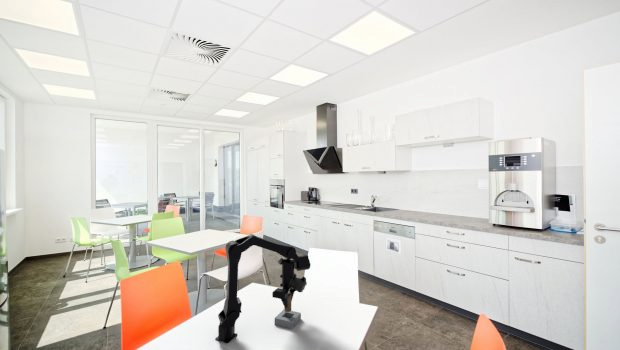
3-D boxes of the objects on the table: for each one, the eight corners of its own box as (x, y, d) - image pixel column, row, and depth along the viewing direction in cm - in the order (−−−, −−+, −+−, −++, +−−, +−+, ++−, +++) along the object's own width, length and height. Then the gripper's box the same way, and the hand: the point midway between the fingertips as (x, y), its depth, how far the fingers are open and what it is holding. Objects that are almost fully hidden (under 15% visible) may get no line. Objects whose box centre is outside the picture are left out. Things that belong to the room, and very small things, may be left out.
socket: (292, 329, 121) (292, 322, 121) (274, 324, 124) (274, 318, 124) (300, 319, 129) (300, 312, 129) (284, 315, 133) (284, 309, 133)
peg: (289, 312, 125) (289, 295, 125) (283, 311, 126) (283, 293, 126) (292, 309, 128) (292, 292, 128) (286, 308, 129) (286, 291, 129)
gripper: (294, 282, 115) (294, 319, 115) (311, 268, 132) (311, 300, 132) (271, 278, 119) (271, 313, 119) (291, 265, 137) (291, 296, 137)
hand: (287, 305), depth 127 cm, fingers closed on peg, 3 cm apart
